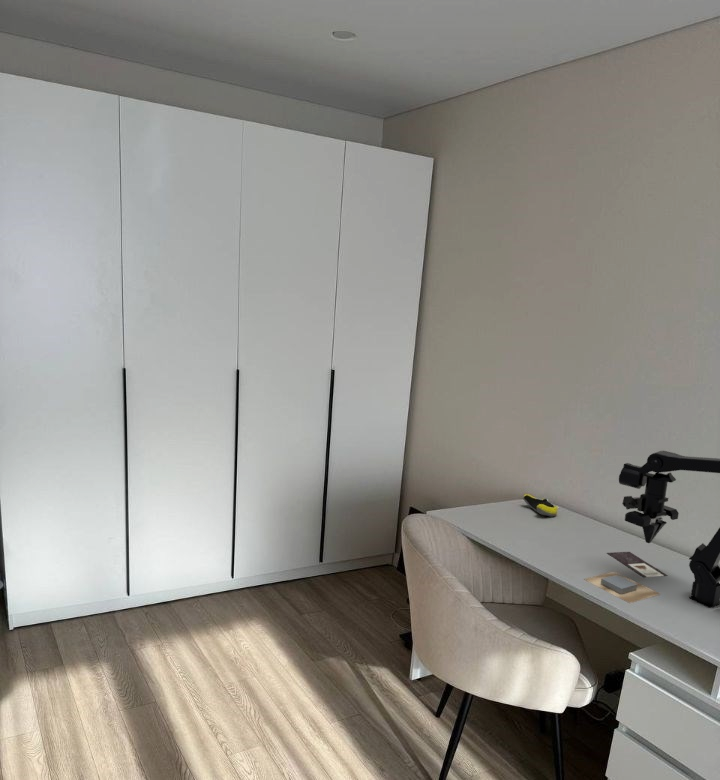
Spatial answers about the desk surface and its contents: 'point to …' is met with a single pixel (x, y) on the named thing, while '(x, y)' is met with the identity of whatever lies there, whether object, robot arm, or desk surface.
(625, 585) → the tile
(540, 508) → the black and yellow shoe
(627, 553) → the chocolate bar
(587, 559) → the desk surface
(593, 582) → the mat
